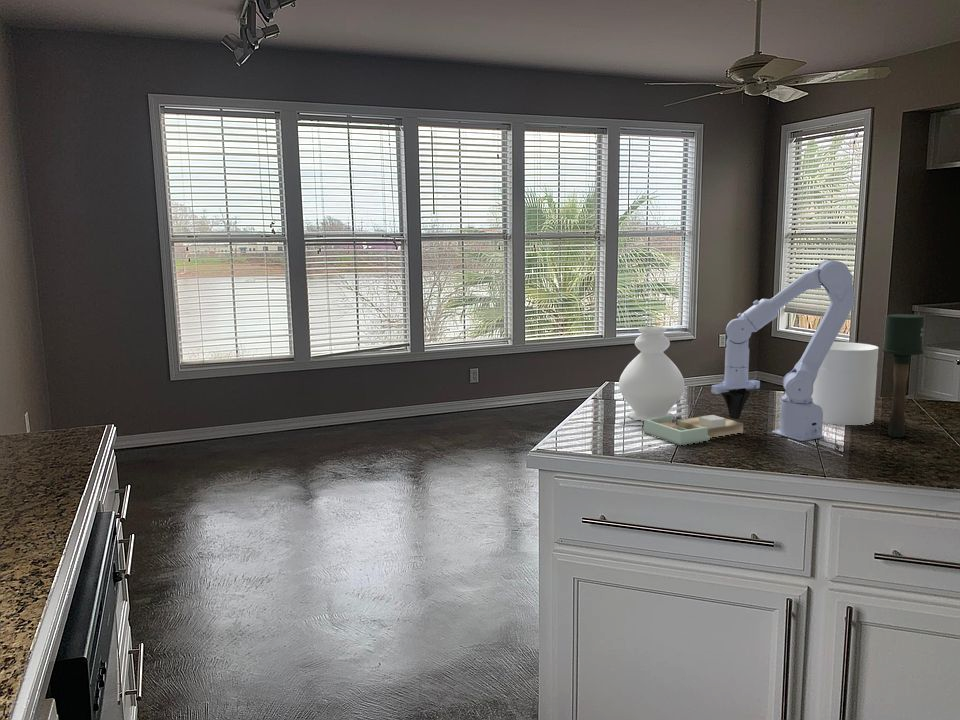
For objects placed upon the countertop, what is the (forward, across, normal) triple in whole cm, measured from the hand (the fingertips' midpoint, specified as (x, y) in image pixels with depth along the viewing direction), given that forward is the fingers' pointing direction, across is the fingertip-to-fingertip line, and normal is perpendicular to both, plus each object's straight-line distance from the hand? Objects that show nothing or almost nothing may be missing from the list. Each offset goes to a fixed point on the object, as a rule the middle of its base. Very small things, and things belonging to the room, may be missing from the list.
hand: (734, 418), depth 188 cm
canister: (+4, -34, +4) cm, 35 cm away
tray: (+3, +16, -3) cm, 17 cm away
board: (+3, +6, -3) cm, 7 cm away
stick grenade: (+4, -30, +23) cm, 38 cm away
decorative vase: (+4, +8, -23) cm, 25 cm away
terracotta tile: (+1, +18, -6) cm, 19 cm away
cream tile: (+1, +8, 0) cm, 8 cm away
